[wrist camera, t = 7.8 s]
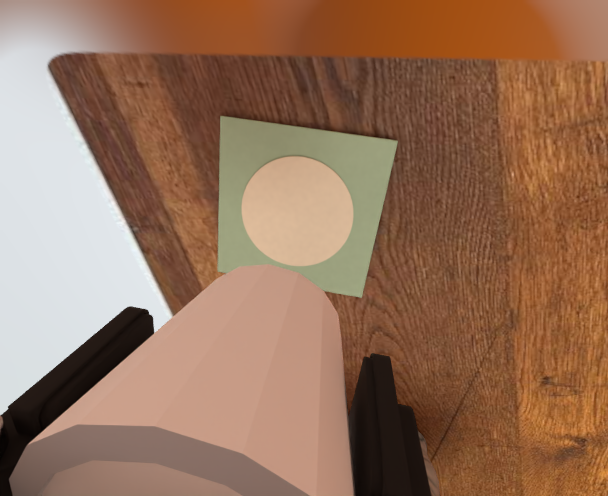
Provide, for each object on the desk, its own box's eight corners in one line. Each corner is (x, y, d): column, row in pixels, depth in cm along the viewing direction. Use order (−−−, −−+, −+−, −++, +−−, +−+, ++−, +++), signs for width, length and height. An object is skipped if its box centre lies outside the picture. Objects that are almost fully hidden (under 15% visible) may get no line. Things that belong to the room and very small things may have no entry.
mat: (223, 115, 23) (218, 115, 23) (397, 140, 22) (398, 140, 22) (219, 268, 29) (216, 272, 28) (361, 294, 27) (361, 299, 27)
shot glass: (175, 238, 11) (-59, 397, 5) (369, 258, 10) (396, 478, 4) (193, 382, 14) (56, 609, 7) (348, 406, 13) (344, 681, 7)
